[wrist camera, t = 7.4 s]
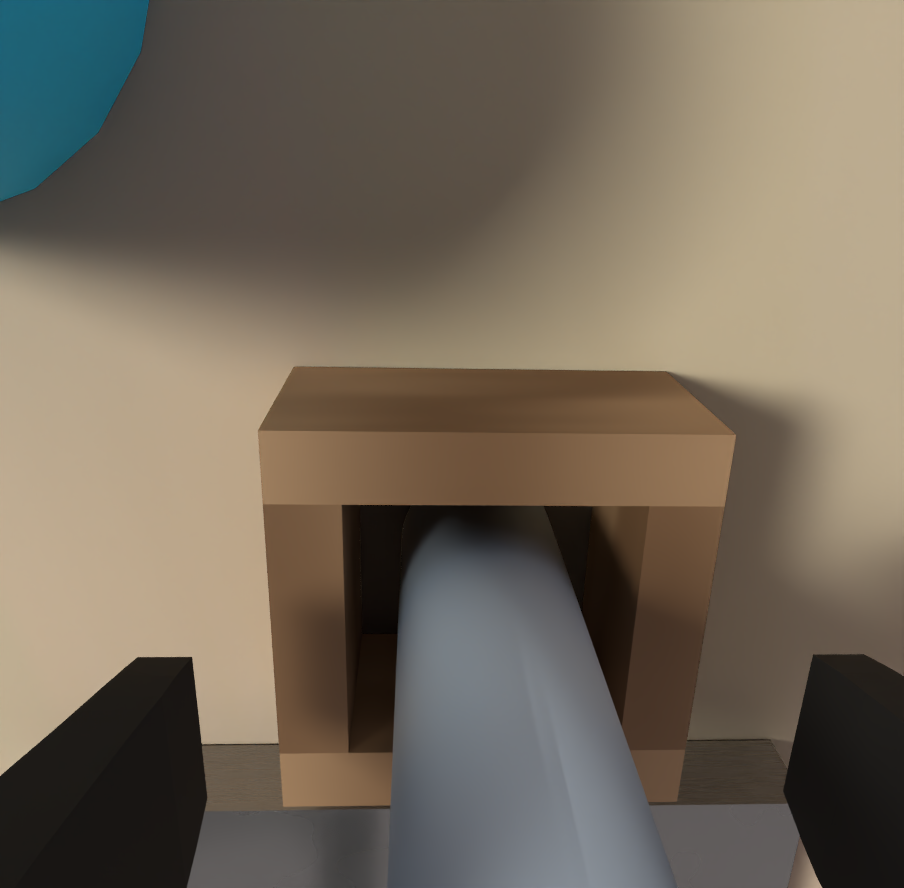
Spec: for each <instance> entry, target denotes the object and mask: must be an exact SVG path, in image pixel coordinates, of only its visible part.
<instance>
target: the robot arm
mask: <svg viewBox="0 0 904 888" xmlns="http://www.w3.org/2000/svg"><path fill="white" fill-rule="evenodd" d="M783 793H784V795H785V798H786V801H787V803H788V806H789V808H790V811H791V814H792V816H793V819H794V822H795V824H796V827H797V830H798V832H799V835H800V837H801V840H802V842H803V845H804V847H805V850H806V852H807V854H808V857H809V859H810V862H811V864H812V866H813V869H814V871H815V874H816V876H817V878H818V880H819V882H820V884H821V886H822V888H904V676H902V675H901V674H899V673H897V672H895V671H894V670H892V669H890V668H888V667H887V666H885V665H883V664H881V663H879V662H877V661H876V660H874V659H872V658H870V657H868V656H866V655H864V654H849V655H813V658H812V662H811V667H810V671H809V676H808V680H807V685H806V689H805V694H804V698H803V703H802V707H801V712H800V716H799V721H798V725H797V730H796V734H795V739H794V743H793V748H792V752H791V757H790V761H789V766H788V770H787V775H786V779H785V784H784V788H783ZM206 803H207V789H206V780H205V771H204V762H203V753H202V743H201V734H200V725H199V716H198V707H197V698H196V689H195V680H194V671H193V662H192V657H137V658H136V659H135V660H134V661H133V662H131V663H130V664H129V665H128V666H127V667H125V668H124V669H123V670H122V671H121V672H120V673H118V674H117V675H116V676H115V677H114V678H113V679H111V680H110V681H109V682H108V683H107V684H106V685H105V686H103V687H102V688H101V689H100V690H99V691H98V692H97V693H96V694H94V695H93V696H92V697H91V698H90V699H89V700H88V701H87V702H85V703H84V704H83V705H82V706H81V707H80V708H79V709H77V710H76V711H75V712H74V713H73V714H72V715H71V716H70V717H68V718H67V719H66V720H65V721H64V722H63V723H62V724H60V725H59V726H58V727H57V728H56V729H55V730H54V731H52V732H51V733H50V734H49V735H48V736H47V737H45V738H44V739H43V740H42V741H41V742H40V743H38V744H37V745H36V746H35V747H34V748H32V749H31V750H30V751H29V752H28V753H27V754H25V755H24V756H23V757H22V758H21V759H20V760H18V761H17V762H16V763H15V764H14V765H13V766H11V767H10V768H9V769H8V770H7V771H6V772H4V773H3V774H2V775H1V776H0V888H187V885H188V881H189V877H190V873H191V868H192V864H193V860H194V856H195V852H196V848H197V843H198V839H199V834H200V830H201V825H202V821H203V816H204V812H205V807H206Z"/></svg>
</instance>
